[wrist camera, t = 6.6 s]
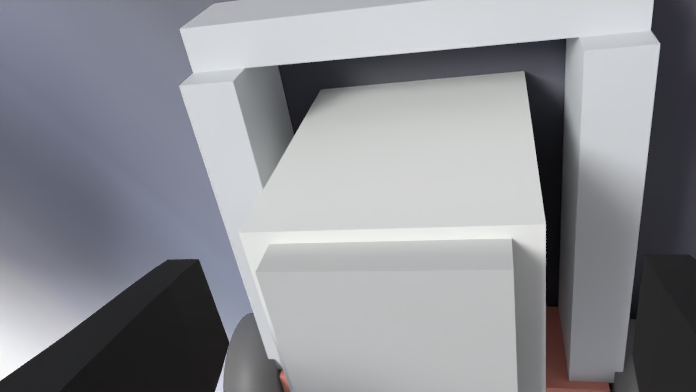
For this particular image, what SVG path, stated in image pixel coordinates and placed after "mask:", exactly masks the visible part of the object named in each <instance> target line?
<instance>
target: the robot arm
mask: <svg viewBox="0 0 696 392" xmlns="http://www.w3.org/2000/svg"><path fill="white" fill-rule="evenodd" d="M228 346H229V341H228V338H227V335H226V333H225V330H224V327H223V324H222V322H221V319H220V316H219V313H218V311H217V308H216V305H215V302H214V300H213V297H212V294H211V291H210V289H209V286H208V283H207V280H206V278H205V275H204V272H203V269H202V267H201V264H200V261H199V259H182V260H167V261H165V262H164V263H162V264H161V265H159V266H157V267H156V268H155V269H153V270H152V271H150V272H149V273H147V274H146V275H145V276H143V277H142V278H140V279H139V280H138V281H136V282H135V283H134V284H132V285H131V286H130V287H128V288H127V289H126V290H124V291H123V292H122V293H120V294H119V295H118V296H116V297H115V298H114V299H113V300H111V301H110V302H109V303H107V304H106V305H105V306H103V307H102V308H101V309H99V310H98V311H97V312H95V313H94V314H93V315H91V316H90V317H89V318H87V319H86V320H85V321H83V322H82V323H81V324H79V325H78V326H77V327H75V328H74V329H73V330H71V331H70V332H69V333H67V334H66V335H65V336H63V337H62V338H61V339H59V340H58V341H56V342H55V343H54V344H52V345H51V346H49V347H48V348H47V349H45V350H44V351H42V352H41V353H39V354H38V355H37V356H35V357H34V358H32V359H31V360H30V361H28V362H27V363H25V364H24V365H22V366H21V367H20V368H18V369H17V370H15V371H14V372H12V373H11V374H10V375H8V376H7V377H5V378H4V379H3V380H1V381H0V392H215V389H216V386H217V383H218V380H219V377H220V374H221V370H222V367H223V363H224V360H225V356H226V353H227V349H228ZM632 357H633V362H634V368H635V373H636V379H637V384H638V390H639V392H696V260H695V259H694V258H693V257H692V256H691V255H644V259H643V267H642V275H641V284H640V292H639V300H638V308H637V317H636V325H635V333H634V342H633V350H632Z"/></svg>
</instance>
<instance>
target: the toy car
mask: <svg viewBox="0 0 696 392" xmlns="http://www.w3.org/2000/svg"><path fill="white" fill-rule="evenodd" d="M653 4H654V0H238V1H230V2H222V3H214V4H213V5H211V6H210V7H209V8H207V9H206V10H205V11H203V12H202V13H201V14H199V15H198V16H196V17H195V18H194V19H192V20H191V21H190V22H188V23H187V24H186V25H184V26H183V27H182V28H180V32H181V35H182V38H183V42H184V45H185V48H186V51H187V54H188V58H189V61H190V64H191V67H192V71H193V74H192V75H190V76H189V77H188V78H187V79H186V80H185V81H184V82H183V83H182V84H181V85H180V86H179V87H180V90H181V93H182V96H183V99H184V102H185V105H186V109H187V112H188V115H189V118H190V121H191V124H192V127H193V130H194V133H195V136H196V139H197V142H198V145H199V148H200V151H201V154H202V157H203V161H204V164H205V167H206V170H207V173H208V176H209V179H210V182H211V185H212V188H213V191H214V194H215V197H216V200H217V203H218V206H219V209H220V212H221V216H222V219H223V222H224V225H225V228H226V231H227V234H228V237H229V240H230V243H231V246H232V249H233V252H234V255H235V258H236V261H237V264H238V268H239V271H240V274H241V277H242V280H243V283H244V286H245V289H246V292H247V295H248V298H249V301H250V304H251V307H252V310H253V313H250V314H247V315H246V316H245V317H243V318H242V320H241V321H240V322H239V324H238V325H237V327H236V329H235V331H234V333H233V336H232V338H231V341H230V344H229V348H228V352H227V357H226V362H225V369H224V385H223V389H224V392H290V389H289V386H288V383H287V380H286V377H285V373H284V370H283V367H282V364H281V361H280V358H279V355H278V352H277V349H276V346H275V343H274V340H273V337H272V334H271V331H270V328H269V325H268V322H267V319H266V316H265V312H264V309H263V306H262V303H261V300H260V297H259V294H258V291H257V288H256V285H255V282H254V279H253V276H252V273H251V270H250V267H249V264H248V261H247V258H246V254H245V251H244V248H243V245H242V242H241V239H240V236H239V231H240V229H241V227H242V226H243V224H244V222H245V220H246V219H247V217H248V215H249V214H250V212H251V210H252V208H253V207H254V205H255V203H256V201H257V200H258V198H259V196H260V194H261V193H262V191H263V189H264V187H265V186H266V184H267V182H268V180H269V179H270V177H271V175H272V173H273V172H274V170H275V168H276V167H277V165H278V163H279V161H280V160H281V158H282V156H283V154H284V153H285V151H286V149H287V147H288V146H289V144H290V142H291V140H292V139H293V137H294V133H293V128H292V124H291V120H290V115H289V111H288V107H287V102H286V98H285V94H284V89H283V85H282V81H281V76H280V72H279V68H278V65H284V64H295V63H306V62H317V61H328V60H338V59H349V58H360V57H371V56H382V55H392V54H403V53H414V52H425V51H435V50H446V49H457V48H468V47H479V46H489V45H500V44H511V43H522V42H533V41H543V40H554V39H565V38H566V66H565V100H564V133H563V167H562V200H561V233H560V267H559V300H558V307H547V306H546V392H639V390H638V384H637V379H636V373H635V368H634V362H633V357H632V350H633V342H634V333H635V325H636V319H629V315H630V307H631V298H632V289H633V280H634V272H635V263H636V254H637V245H638V236H639V228H640V219H641V210H642V201H643V192H644V184H645V175H646V166H647V157H648V149H649V140H650V131H651V122H652V113H653V105H654V96H655V87H656V78H657V70H658V61H659V52H660V43H659V41H658V40H657V39H656V37H655V36H654V34H653V33H652V32H651V23H652V13H653Z"/></svg>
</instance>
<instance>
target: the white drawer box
mask: <svg viewBox="0 0 696 392" xmlns="http://www.w3.org/2000/svg"><path fill="white" fill-rule="evenodd" d="M239 236H240V239H241V242H242V245H243V248H244V251H245V254H246V258H247V261H248V264H249V267H250V270H251V273H252V276H253V279H254V282H255V285H256V288H257V291H258V294H259V297H260V300H261V303H262V306H263V309H264V312H265V316H266V319H267V322H268V325H269V328H270V331H271V334H272V337H273V340H274V343H275V346H276V349H277V352H278V355H279V358H280V361H281V364H282V367H283V370H284V373H285V377H286V380H287V383H288V386H289V389H290V392H546V222H545V214H544V207H543V200H542V193H541V186H540V179H539V172H538V165H537V158H536V150H535V143H534V136H533V129H532V122H531V115H530V108H529V101H528V94H527V87H526V79H525V72H524V71H519V72H508V73H497V74H486V75H475V76H464V77H453V78H442V79H431V80H419V81H408V82H397V83H386V84H375V85H364V86H353V87H342V88H331V89H321V90H320V92H319V93H318V95H317V97H316V99H315V100H314V102H313V104H312V106H311V107H310V109H309V111H308V113H307V114H306V116H305V118H304V120H303V121H302V123H301V125H300V127H299V128H298V130H297V132H296V133H295V135H294V137H293V139H292V140H291V142H290V144H289V146H288V147H287V149H286V151H285V153H284V154H283V156H282V158H281V160H280V161H279V163H278V165H277V167H276V168H275V170H274V172H273V173H272V175H271V177H270V179H269V180H268V182H267V184H266V186H265V187H264V189H263V191H262V193H261V194H260V196H259V198H258V200H257V201H256V203H255V205H254V207H253V208H252V210H251V212H250V214H249V215H248V217H247V219H246V220H245V222H244V224H243V226H242V227H241V229H240V231H239Z"/></svg>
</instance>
